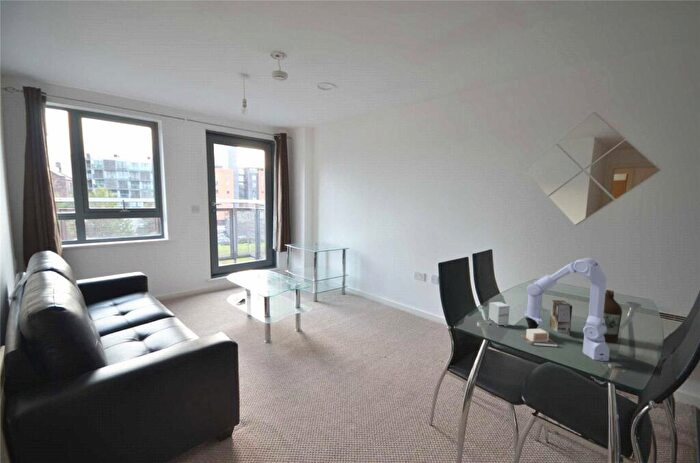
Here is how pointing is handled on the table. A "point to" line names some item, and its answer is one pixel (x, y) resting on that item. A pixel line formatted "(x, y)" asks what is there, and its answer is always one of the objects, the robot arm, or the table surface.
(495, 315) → the supplement box
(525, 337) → the tan wooden board
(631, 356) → the table surface
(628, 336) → the table surface
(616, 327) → the olive oil
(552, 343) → the price rail
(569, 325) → the coffee box
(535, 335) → the cream box
